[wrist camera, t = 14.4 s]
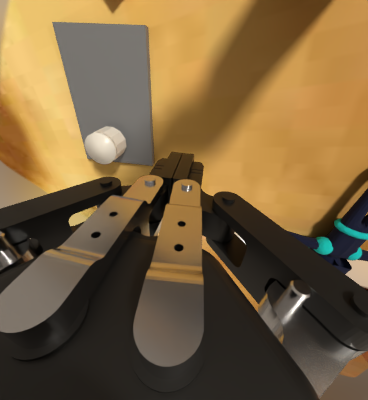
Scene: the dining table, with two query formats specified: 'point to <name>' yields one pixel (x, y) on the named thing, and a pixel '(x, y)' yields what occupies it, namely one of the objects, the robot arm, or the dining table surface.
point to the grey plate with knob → (110, 82)
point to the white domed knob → (105, 145)
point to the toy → (343, 237)
